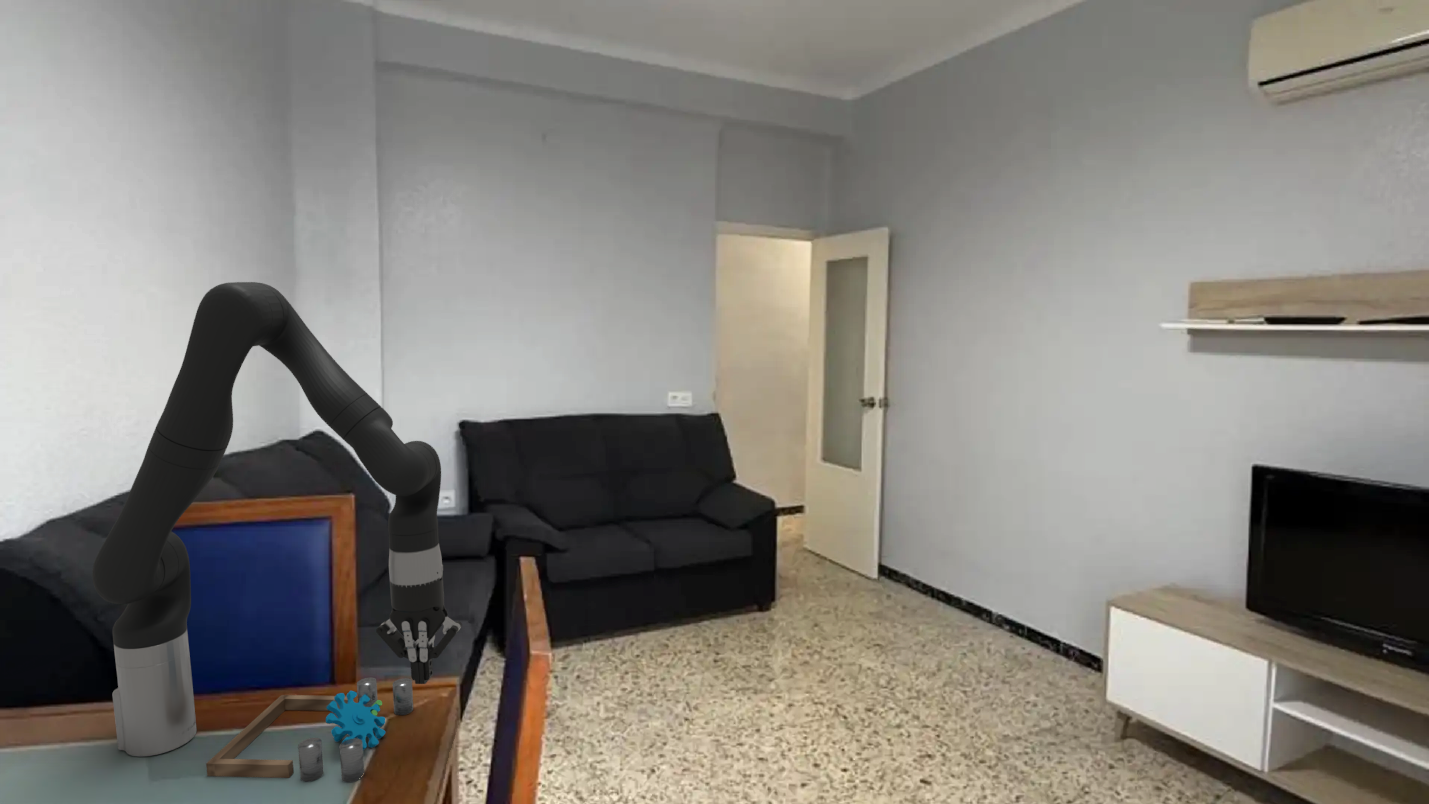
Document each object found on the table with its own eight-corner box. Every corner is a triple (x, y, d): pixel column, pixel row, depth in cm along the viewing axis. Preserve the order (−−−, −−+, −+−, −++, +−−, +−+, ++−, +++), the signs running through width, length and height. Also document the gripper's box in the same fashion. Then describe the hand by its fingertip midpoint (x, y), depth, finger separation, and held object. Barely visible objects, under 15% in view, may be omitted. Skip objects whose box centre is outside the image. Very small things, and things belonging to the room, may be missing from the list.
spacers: (296, 781, 114) (293, 749, 113) (363, 705, 135) (361, 677, 134) (358, 782, 114) (356, 750, 113) (416, 706, 134) (414, 678, 134)
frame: (207, 776, 115) (206, 763, 115) (282, 706, 134) (281, 694, 134) (289, 777, 115) (288, 765, 114) (352, 707, 134) (351, 696, 134)
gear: (357, 756, 117) (318, 702, 119) (332, 779, 118) (294, 726, 120) (404, 726, 128) (367, 677, 130) (380, 748, 129) (345, 699, 131)
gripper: (361, 583, 116) (369, 693, 119) (450, 583, 116) (456, 694, 119) (383, 565, 124) (390, 669, 126) (467, 565, 124) (473, 670, 126)
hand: (422, 681), depth 122 cm, fingers closed
